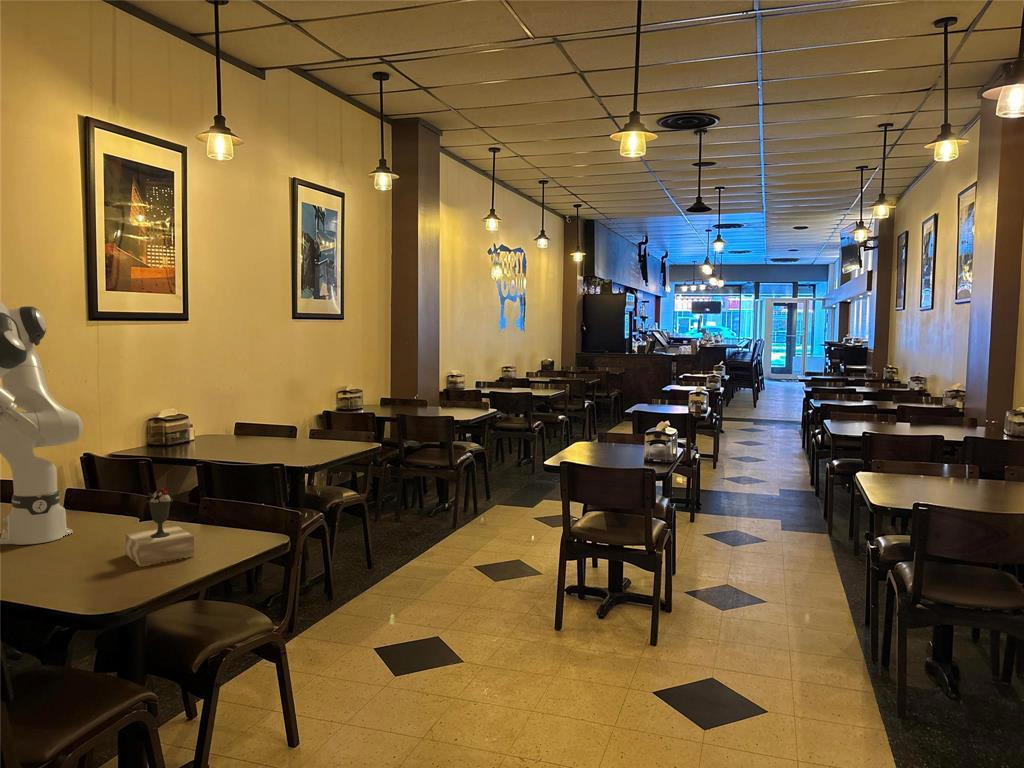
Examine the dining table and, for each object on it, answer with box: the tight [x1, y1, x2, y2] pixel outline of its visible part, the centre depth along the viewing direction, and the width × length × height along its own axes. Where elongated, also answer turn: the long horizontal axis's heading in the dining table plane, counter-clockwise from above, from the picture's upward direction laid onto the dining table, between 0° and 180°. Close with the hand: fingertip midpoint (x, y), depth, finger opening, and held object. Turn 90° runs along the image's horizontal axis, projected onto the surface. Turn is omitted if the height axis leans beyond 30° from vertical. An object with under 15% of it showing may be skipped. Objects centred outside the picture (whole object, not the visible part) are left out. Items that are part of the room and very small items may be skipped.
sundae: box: [146, 482, 174, 538], centre depth 203 cm, size 7×7×15 cm
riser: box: [125, 525, 195, 568], centre depth 204 cm, size 14×14×6 cm
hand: (41, 440), depth 191 cm, fingers open, 8 cm apart
